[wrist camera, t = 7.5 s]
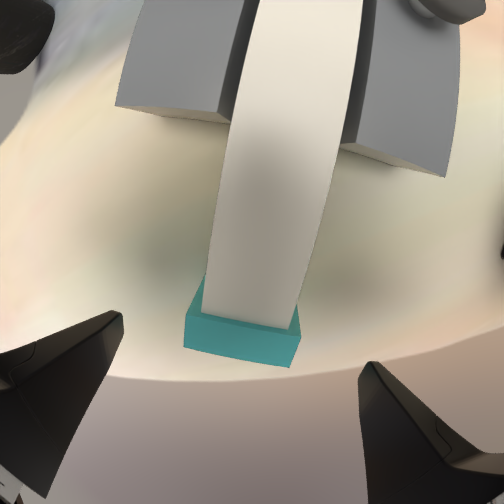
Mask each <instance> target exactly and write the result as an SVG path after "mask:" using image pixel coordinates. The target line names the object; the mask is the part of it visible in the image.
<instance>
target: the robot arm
mask: <svg viewBox="0 0 504 504" xmlns="http://www.w3.org/2000/svg"><path fill="white" fill-rule="evenodd" d="M502 259H503V260H504V249H503V252H502ZM123 334H124V326H123V316H122V314H121V313H120V312H117V311H114V310H110V311H108V312H105V313H103V314H100V315H98V316H95V317H93V318H91V319H88V320H86V321H83V322H81V323H78V324H76V325H74V326H71V327H69V328H66V329H64V330H61V331H59V332H56V333H54V334H52V335H49V336H47V337H44V338H42V339H39V340H37V342H36V341H34V342H32V343H29V344H27V345H24V346H22V347H19V348H16V349H13V350H10V351H7V352H4V353H0V504H23V501H22V498H21V496H20V493H19V492H20V490H21V488H22V486H23V484H24V485H26V486H27V487H29V488H30V489H31V490H33V491H34V492H36V493H37V494H39V495H40V496H41V497H43V498H45V499H46V497H47V495H48V492H49V490H50V487H51V485H52V483H53V480H54V478H55V476H56V473H57V471H58V469H59V466H60V464H61V462H62V460H63V457H64V455H65V453H66V451H67V449H68V446H69V445H70V442H71V440H72V438H73V436H74V434H75V432H76V430H77V428H78V426H79V424H80V422H81V420H82V418H83V416H84V414H85V412H86V410H87V408H88V407H89V405H90V403H91V401H92V399H93V397H94V395H95V394H96V392H97V390H98V388H99V386H100V384H101V383H102V381H103V379H104V377H105V375H106V374H107V372H108V370H109V368H110V365H111V363H112V361H113V358H114V356H115V354H116V351H117V349H118V347H119V344H120V342H121V340H122V338H123ZM358 397H359V417H360V425H361V432H362V439H363V448H364V457H365V466H366V478H367V490H368V504H504V453H485V452H483V451H481V450H479V449H477V448H476V447H475V446H473V445H472V444H471V443H469V442H468V441H467V440H466V439H464V438H463V437H462V436H460V435H459V434H458V433H456V432H455V431H454V430H453V429H451V428H450V427H449V426H448V425H447V424H446V423H445V422H444V421H442V420H441V419H440V418H439V417H438V416H436V414H435V413H434V412H433V411H432V410H431V409H429V408H428V407H427V406H426V405H425V404H424V403H423V402H422V401H421V400H420V399H419V398H418V397H416V396H415V395H414V394H413V393H412V392H411V391H410V390H409V389H408V388H407V387H405V386H404V385H403V384H402V383H401V382H400V381H399V380H398V379H396V377H395V376H394V375H392V374H391V373H390V372H389V371H388V370H387V369H386V368H385V367H383V365H382V364H380V363H379V362H377V361H369V362H367V364H366V365H365V367H364V369H363V370H362V372H361V374H360V375H359V378H358Z"/></svg>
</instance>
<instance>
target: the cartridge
mask: <svg viewBox="0 0 504 504" xmlns="http://www.w3.org/2000/svg"><path fill="white" fill-rule="evenodd" d="M362 5H363V0H260V3H259V6H258V10H257V14H256V17H255V21H254V25H253V29H252V33H251V37H250V41H249V45H248V49H247V53H246V57H245V62H244V66H243V70H242V75H241V79H240V84H239V88H238V93H237V97H236V102H235V107H234V111H233V116H232V121H231V126H230V131H229V136H228V141H227V147H226V152H225V157H224V163H223V168H222V174H221V179H220V185H219V191H218V197H217V203H216V209H215V215H214V221H213V228H212V234H211V241H210V248H209V255H208V262H207V269H206V274H205V276H204V278H203V280H202V282H201V284H200V286H199V288H198V290H197V292H196V294H195V296H194V299H193V301H192V303H191V305H190V307H189V309H188V311H187V313H186V319H185V332H184V347H186V348H190V349H194V350H198V351H202V352H206V353H211V354H215V355H220V356H225V357H230V358H235V359H240V360H245V361H251V362H256V363H262V364H268V365H274V366H281V367H288V368H289V367H290V365H291V362H292V360H293V357H294V355H295V352H296V349H297V347H298V344H299V342H300V339H301V332H300V324H299V317H298V310H297V300H298V297H299V294H300V291H301V288H302V284H303V281H304V278H305V275H306V271H307V268H308V265H309V261H310V258H311V254H312V251H313V247H314V244H315V240H316V237H317V233H318V229H319V226H320V222H321V218H322V214H323V211H324V207H325V203H326V199H327V195H328V191H329V187H330V183H331V179H332V175H333V170H334V166H335V162H336V157H337V153H338V149H339V144H340V139H341V135H342V130H343V125H344V120H345V115H346V110H347V105H348V100H349V94H350V89H351V83H352V77H353V71H354V65H355V59H356V52H357V45H358V38H359V31H360V23H361V14H362Z"/></svg>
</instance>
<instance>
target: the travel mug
mask: <svg viewBox="0 0 504 504" xmlns="http://www.w3.org/2000/svg"><path fill="white" fill-rule="evenodd" d="M53 22H54V10H53V8H52V7H51V6H50V5H49V4H47V3H45V2H43V1H41V0H0V74H16V73H19V72H21V71H22V70H24V69H25V68H26V67H27V66H28V65H29V64H30V63H31V62H32V61H33V60H34V59H35V57H36V56H37V55H38V53H39V52H40V50H41V49H42V47H43V46H44V44H45V42H46V40H47V38H48V36H49V34H50V31H51V29H52V26H53Z"/></svg>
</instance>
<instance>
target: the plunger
mask: <svg viewBox="0 0 504 504" xmlns="http://www.w3.org/2000/svg"><path fill="white" fill-rule="evenodd" d="M418 1H419V2H420V3H421V4H422V5H423V6H424V7H426V8H427V9H428V10H429V11H430V12H432V13H433V14H434V15H436V16H437V17H439V18H441V19H442V20H444V21H446V22H449V23H452V24H457V25H460V24H464V23H466V22H468V21H470V20H472V19H474V18H476V17H478V16H481V15H483V14H484V13H485V11H486V3H485V0H418Z"/></svg>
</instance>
